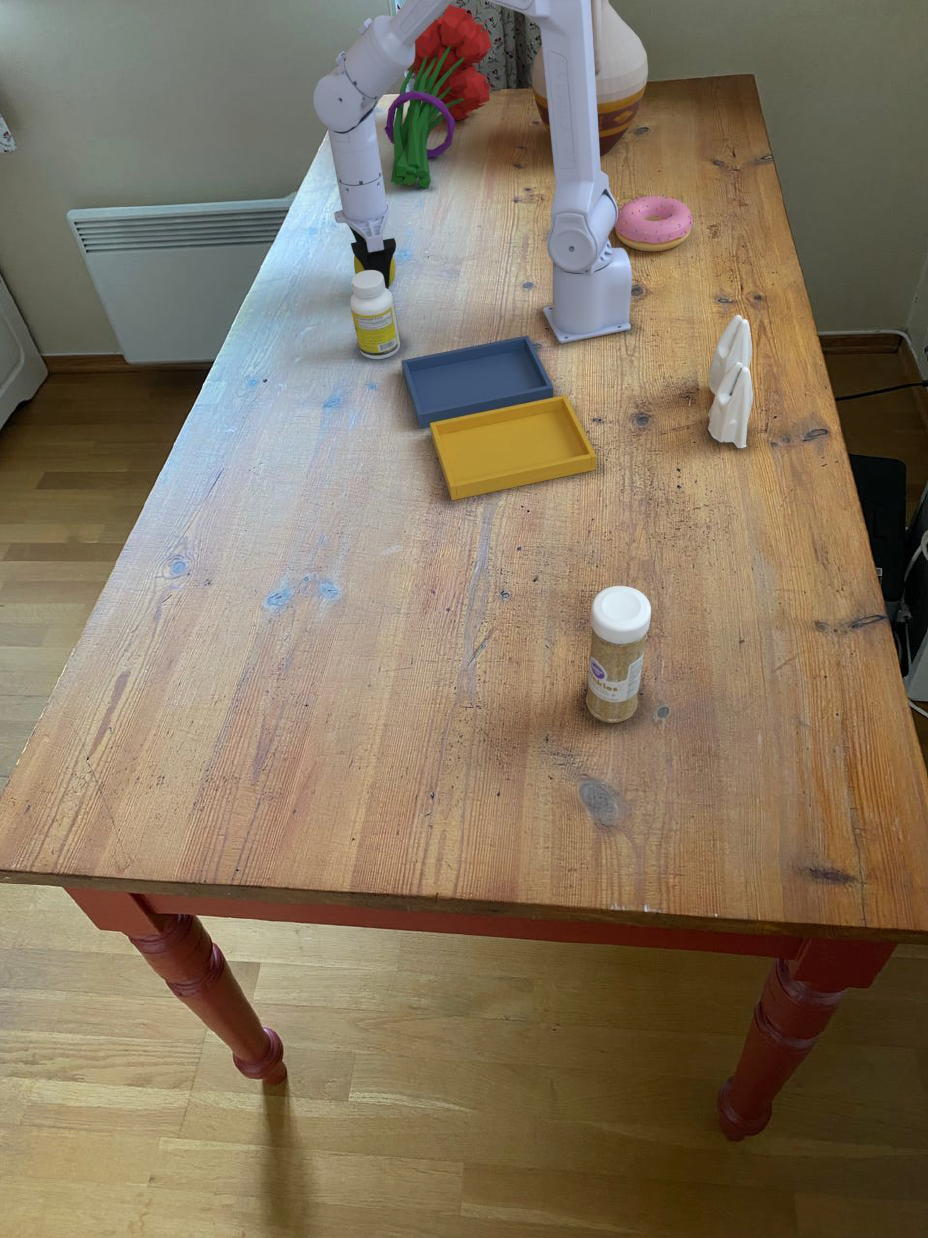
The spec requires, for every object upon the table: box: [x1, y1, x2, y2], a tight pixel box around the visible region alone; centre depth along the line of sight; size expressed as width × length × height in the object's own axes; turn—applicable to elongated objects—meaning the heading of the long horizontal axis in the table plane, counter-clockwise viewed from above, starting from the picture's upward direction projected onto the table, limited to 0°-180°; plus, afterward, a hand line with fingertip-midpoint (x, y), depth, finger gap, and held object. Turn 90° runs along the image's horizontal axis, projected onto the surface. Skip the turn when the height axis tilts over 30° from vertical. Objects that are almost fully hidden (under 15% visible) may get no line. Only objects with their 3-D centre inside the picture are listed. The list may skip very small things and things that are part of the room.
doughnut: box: [614, 194, 694, 252], centre depth 125 cm, size 11×11×4 cm
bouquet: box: [384, 4, 493, 189], centre depth 144 cm, size 20×16×30 cm
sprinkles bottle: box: [585, 585, 652, 724], centre depth 73 cm, size 5×5×13 cm
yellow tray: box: [429, 394, 597, 501], centre depth 99 cm, size 16×11×2 cm
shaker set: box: [707, 314, 754, 449], centre depth 97 cm, size 12×4×11 cm, turn 171°
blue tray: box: [400, 334, 554, 429], centre depth 107 cm, size 16×11×2 cm
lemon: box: [353, 240, 396, 288], centre depth 120 cm, size 6×6×8 cm
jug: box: [531, 0, 649, 157], centre depth 134 cm, size 20×18×30 cm
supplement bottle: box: [349, 270, 401, 360], centre depth 111 cm, size 5×5×10 cm
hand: (376, 275), depth 121 cm, fingers open, 7 cm apart
